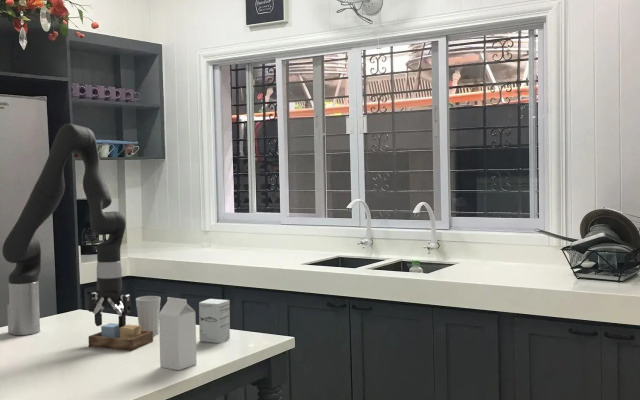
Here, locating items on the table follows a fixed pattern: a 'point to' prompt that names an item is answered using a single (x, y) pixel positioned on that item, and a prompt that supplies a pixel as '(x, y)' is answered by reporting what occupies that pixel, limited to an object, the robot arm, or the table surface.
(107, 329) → the slate block
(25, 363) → the table surface
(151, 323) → the cup
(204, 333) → the supplement box
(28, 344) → the table surface
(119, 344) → the tray
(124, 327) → the oak block
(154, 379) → the table surface
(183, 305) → the milk carton
